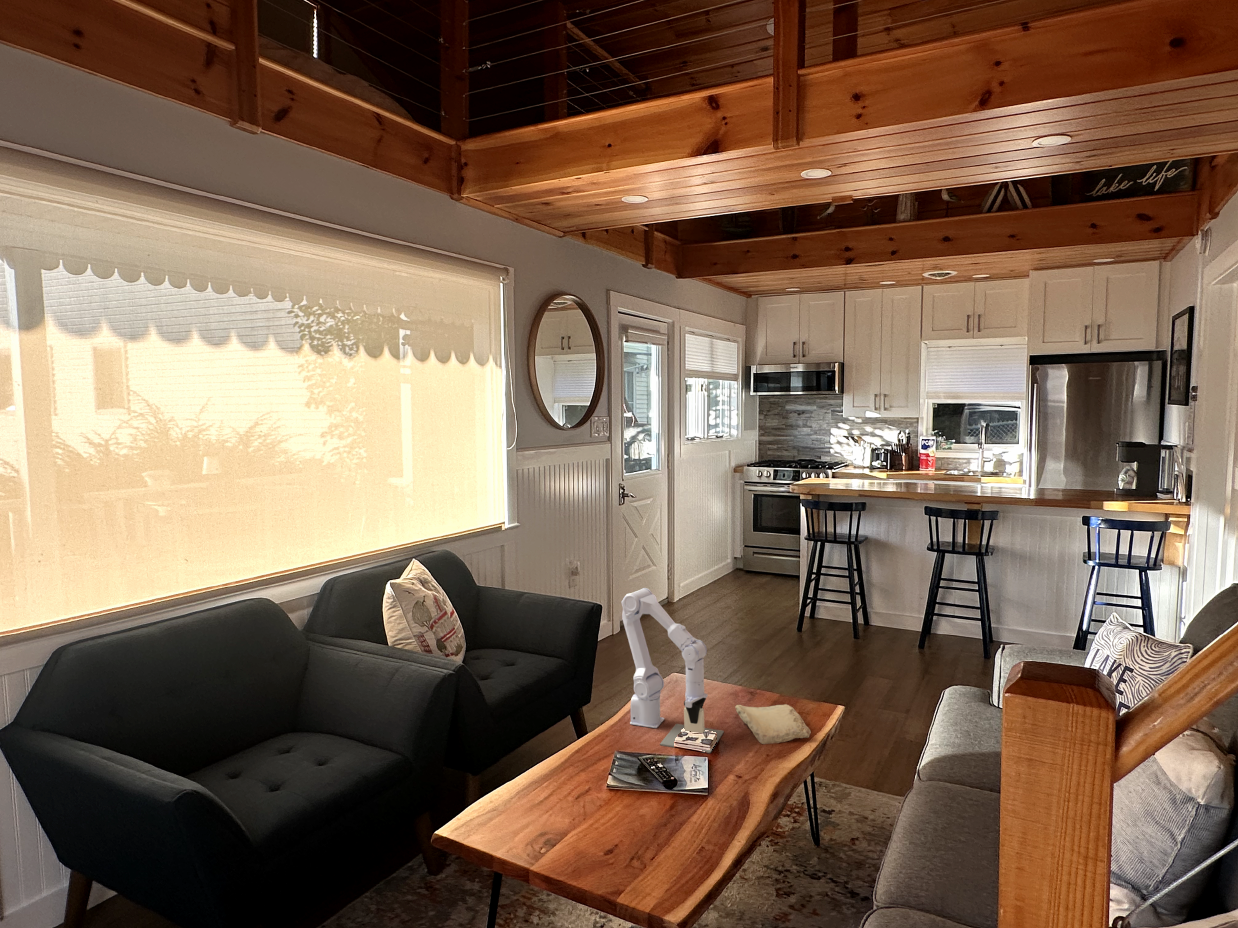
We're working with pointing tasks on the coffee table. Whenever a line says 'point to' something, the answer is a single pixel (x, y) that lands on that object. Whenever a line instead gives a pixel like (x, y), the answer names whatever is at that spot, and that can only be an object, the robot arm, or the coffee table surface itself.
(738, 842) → the coffee table surface
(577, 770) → the coffee table surface
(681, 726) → the mat
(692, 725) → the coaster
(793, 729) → the small cream pillow
